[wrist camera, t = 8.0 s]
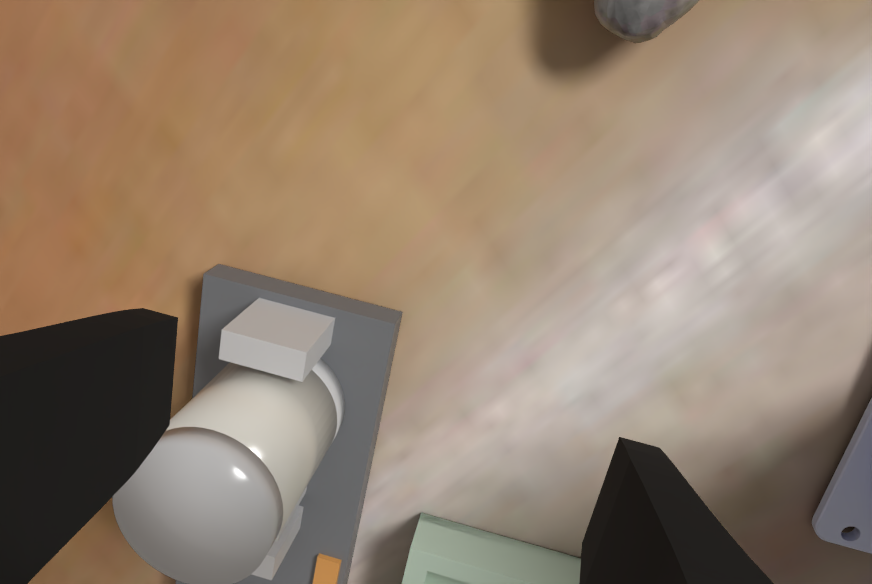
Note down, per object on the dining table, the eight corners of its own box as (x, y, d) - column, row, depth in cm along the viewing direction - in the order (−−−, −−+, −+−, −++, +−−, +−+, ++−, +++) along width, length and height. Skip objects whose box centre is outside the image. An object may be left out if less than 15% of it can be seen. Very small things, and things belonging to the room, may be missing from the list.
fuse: (354, 360, 22) (280, 471, 16) (334, 469, 23) (260, 605, 18) (230, 326, 22) (115, 424, 17) (218, 436, 24) (109, 560, 18)
